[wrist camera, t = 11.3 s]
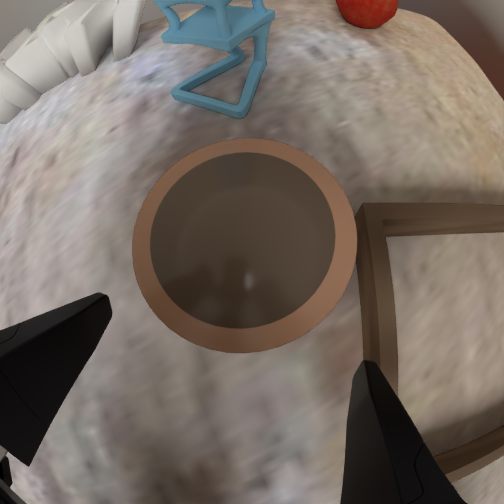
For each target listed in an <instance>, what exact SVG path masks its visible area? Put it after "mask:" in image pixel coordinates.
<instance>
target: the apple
mask: <svg viewBox="0 0 504 504" xmlns="http://www.w3.org/2000/svg"><path fill="white" fill-rule="evenodd" d="M336 3H337V5H338V8H339V11H340V12H341V14H342V15H343V17H344V19H346V20H347V21H348V22H349V23H351V24H353V25H355V26H358V27H362V28H378V27H380V26H381V25H382V24H384V23H385V22H387V21H388V20H390V19H391V18H392V17H393V16H395V13H396V11H397V8H398V0H336Z"/></svg>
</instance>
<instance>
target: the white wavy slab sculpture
mask: <svg viewBox="0 0 504 504" xmlns="http://www.w3.org/2000/svg"><path fill="white" fill-rule="evenodd" d="M145 2H146V0H74V1H72V2H71V3H68V2H67V3H65V2H64V3H63V4H61V5H60V6H58V7H56V8H55V9H54V10H53V11H51V12H50V13H49V14H48V15H47V16H46V17H45V18H44V19H43V21H42V22H41V23H40V24H39V25H38V27H37V28H36V29H35V31H34V32H32V31H31V30H30V29H29V28H25V29H23V30H22V31H21V32H20V33H18V34H17V35H16V36H15V37H14V38H13V39H12V40H11V41H10V42H9V44H8V45H7V46H6V47H5V48H4V50H3V51H2V52H1V53H0V123H3V124H6V123H8V122H10V121H11V120H12V119H13V118H15V117H16V116H17V114H18V113H19V112H20V111H21V110H22V109H23V110H27V109H28V108H30V107H31V106H32V105H34V104H35V103H36V102H37V101H38V100H39V99H40V97H41V95H42V94H43V93H45V92H47V91H49V90H50V89H52V88H54V87H56V86H57V85H59V84H61V83H62V82H64V81H66V80H67V79H68V78H69V77H72V78H73V77H75V76H76V75H77V74H78V73H79V72H80V74H81V76H85V75H88V74H90V73H92V72H94V71H95V70H96V67H97V64H98V62H99V60H100V58H101V57H102V55H103V54H104V52H105V51H106V50H107V48H108V47H109V46H110V45H111V44H112V43H113V62H116V61H119V60H122V59H124V58H126V57H129V56H130V55H131V53H132V51H133V49H134V47H135V45H136V41H137V36H138V31H139V27H140V22H141V18H142V13H143V9H144V5H145Z"/></svg>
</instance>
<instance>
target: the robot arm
mask: <svg viewBox="0 0 504 504" xmlns="http://www.w3.org/2000/svg"><path fill="white" fill-rule="evenodd" d="M111 318H112V308H111V304H110V300H109V297H108V296H107V295H105V294H103V293H95V294H93V295H90V296H87V297H85V298H82V299H79V300H77V301H74V302H72V303H69V304H67V305H64V306H61V307H59V308H56V309H54V310H51V311H49V312H46V313H44V314H41V315H39V316H36V317H33V318H31V319H28V320H26V321H23V322H22V323H18V324H16V325H13V326H11V327H8V328H6V329H3V330H0V504H26V503H25V502H24V501H23V500H22V499H21V498H20V497H19V496H18V495H16V494H15V493H14V492H13V491H12V490H11V489H10V486H11V485H12V477H11V472H10V466H9V460H8V457H7V456H6V454H7V452H9V453H11V454H12V455H13V456H14V457H16V458H17V459H18V460H20V461H21V462H22V463H24V464H25V465H27V466H28V467H29V466H30V464H31V462H32V460H33V458H34V456H35V454H36V452H37V450H38V448H39V446H40V444H41V442H42V440H43V438H44V436H45V434H46V432H47V430H48V428H49V426H50V424H51V423H52V421H53V419H54V417H55V415H56V414H57V412H58V410H59V408H60V406H61V405H62V403H63V401H64V399H65V398H66V396H67V394H68V393H69V391H70V389H71V388H72V386H73V384H74V382H75V381H76V379H77V378H78V376H79V374H80V373H81V371H82V369H83V368H84V366H85V365H86V363H87V361H88V360H89V358H90V357H91V355H92V354H93V352H94V350H95V349H96V347H97V345H98V343H99V341H100V339H101V337H102V335H103V333H104V331H105V329H106V327H107V325H108V324H109V322H110V320H111ZM340 504H467V503H466V502H465V501H464V500H463V499H462V498H461V497H460V495H459V494H458V493H457V491H456V490H455V488H454V487H453V486H452V484H451V483H450V481H449V480H448V478H447V477H446V476H445V474H444V473H443V471H442V470H441V468H440V467H439V465H438V464H437V462H436V461H435V459H434V457H433V456H432V454H431V452H430V451H429V449H428V447H427V446H426V444H425V442H423V439H422V437H421V435H420V434H419V432H418V430H417V428H416V427H415V425H414V423H413V422H412V420H411V418H410V416H409V415H408V413H407V411H406V410H405V408H404V406H403V405H402V403H401V401H400V400H399V398H398V397H397V395H396V393H395V392H394V390H393V388H392V387H391V385H390V384H389V382H388V380H387V379H386V377H385V376H384V374H383V372H382V371H381V369H380V368H379V366H378V364H377V363H376V362H375V361H371V360H363V361H362V362H361V364H360V366H359V368H358V369H357V371H356V373H355V375H354V377H353V381H352V389H351V397H350V404H349V411H348V418H347V430H346V449H345V463H344V475H343V485H342V494H341V503H340Z"/></svg>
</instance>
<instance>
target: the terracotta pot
mask: <svg viewBox="0 0 504 504" xmlns="http://www.w3.org/2000/svg"><path fill="white" fill-rule="evenodd" d="M356 253H357V231H356V223H355V219H354V215H353V211H352V208H351V206H350V203H349V201H348V198H347V196H346V194H345V193H344V191H343V189H342V187H341V186H340V184H339V183H338V182H337V180H336V179H335V178H334V176H333V175H332V174H331V173H330V172H329V171H328V170H327V169H326V168H325V167H324V166H323V165H322V164H321V163H319V162H318V161H317V160H315V159H314V158H313V157H311V156H310V155H308V154H306V153H304V152H303V151H301V150H299V149H297V148H294V147H292V146H290V145H287V144H284V143H280V142H277V141H272V140H266V139H257V138H241V139H232V140H226V141H221V142H218V143H214V144H211V145H208V146H206V147H203V148H201V149H198V150H196V151H194V152H193V153H191V154H189V155H187V156H186V157H184V158H183V159H181V160H180V161H178V162H177V163H176V164H174V165H173V166H172V167H171V168H170V169H169V170H167V171H166V172H165V173H164V174H163V176H162V177H161V178H160V179H159V180H158V181H157V182H156V184H155V185H154V186H153V188H152V189H151V190H150V192H149V194H148V195H147V197H146V199H145V201H144V202H143V205H142V207H141V209H140V212H139V214H138V217H137V221H136V224H135V228H134V234H133V242H132V257H133V266H134V271H135V275H136V279H137V282H138V285H139V287H140V290H141V292H142V295H143V296H144V298H145V300H146V302H147V303H148V305H149V307H150V308H151V309H152V310H153V312H154V313H155V314H156V316H157V317H158V318H159V319H160V320H161V321H162V322H163V323H164V324H165V325H166V326H167V327H168V328H170V329H171V330H172V331H174V332H175V333H177V334H178V335H179V336H181V337H182V338H184V339H186V340H188V341H190V342H192V343H194V344H196V345H199V346H202V347H205V348H208V349H211V350H216V351H222V352H227V353H251V352H260V351H264V350H268V349H272V348H276V347H279V346H282V345H284V344H287V343H289V342H291V341H294V340H295V339H297V338H299V337H301V336H302V335H304V334H306V333H307V332H309V331H310V330H311V329H313V328H314V327H315V326H316V325H318V324H319V323H320V322H321V321H322V320H323V319H324V318H325V317H326V316H327V315H328V314H329V313H330V312H331V311H332V310H333V308H334V307H335V305H336V304H337V302H338V301H339V300H340V298H341V297H342V295H343V293H344V291H345V289H346V287H347V285H348V283H349V281H350V278H351V275H352V272H353V269H354V264H355V259H356Z"/></svg>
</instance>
